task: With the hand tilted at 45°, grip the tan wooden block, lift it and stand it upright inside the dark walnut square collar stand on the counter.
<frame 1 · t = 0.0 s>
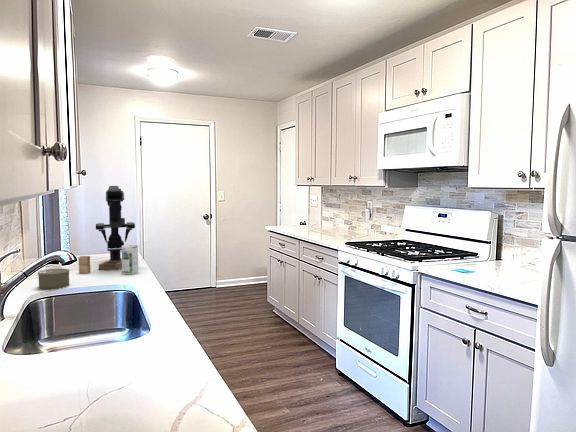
hand: (116, 242, 213), 15 cm above the table, tool pointing down, fingers open, 9 cm apart
tan wooden block: (84, 273, 206), on the table
syrup box: (130, 273, 206), on the table
walnut collar stand: (112, 268, 219), on the table
can: (54, 287, 179), on the table
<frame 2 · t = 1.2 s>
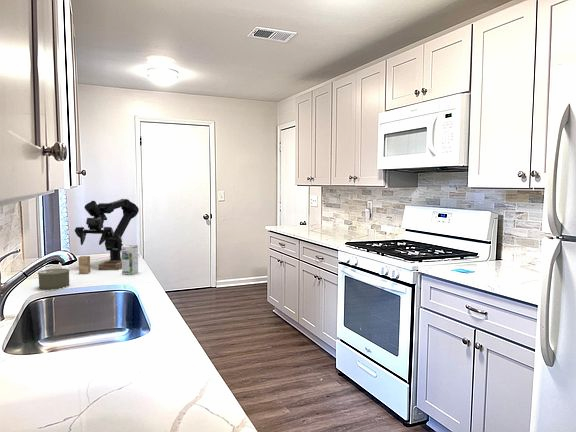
hand: (90, 244, 213), 13 cm above the table, tool tilted 45°, fingers open, 9 cm apart
nothing on the table moved.
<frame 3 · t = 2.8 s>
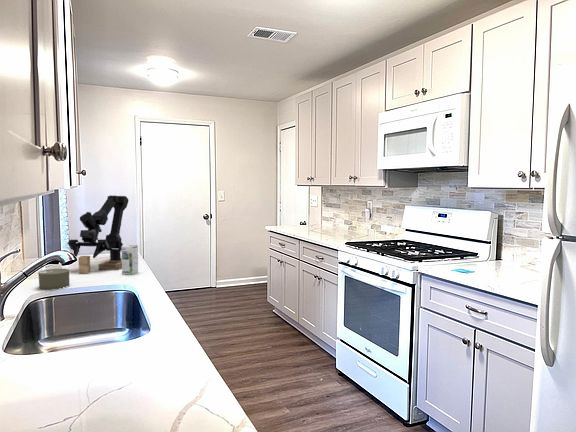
hand: (84, 257, 206), 8 cm above the table, tool tilted 45°, fingers open, 9 cm apart
nothing on the table moved.
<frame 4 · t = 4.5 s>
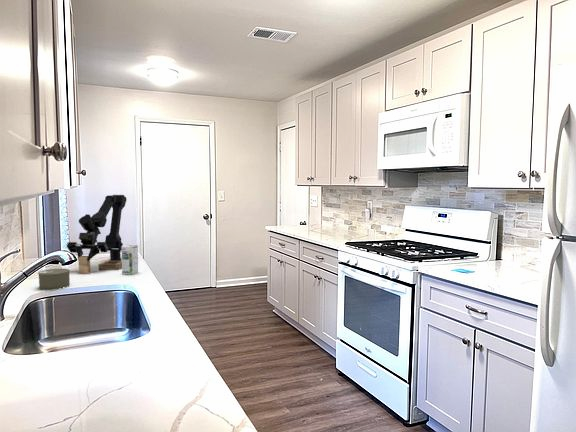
hand: (83, 260, 204), 7 cm above the table, tool tilted 45°, fingers closed on tan wooden block, 4 cm apart
tan wooden block: (84, 273, 206), on the table, touching gripper
everything else where it was.
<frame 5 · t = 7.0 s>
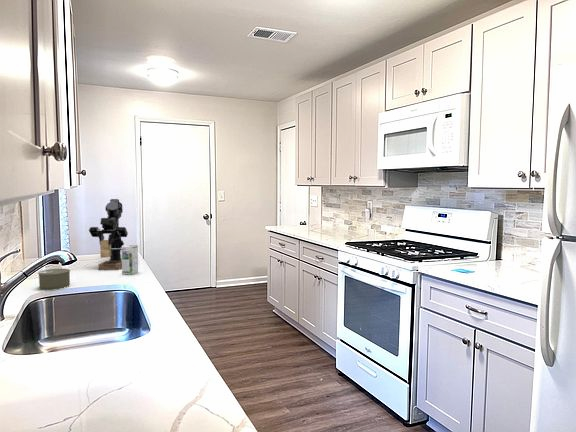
hand: (104, 244, 214), 13 cm above the table, tool tilted 45°, fingers closed on tan wooden block, 4 cm apart
tan wooden block: (105, 256, 216), point 7 cm above the table, touching gripper
everything else where it was.
when the fingers open (8 cm above the table, at t = 9.5 s): tan wooden block stays where it is, resting in walnut collar stand.
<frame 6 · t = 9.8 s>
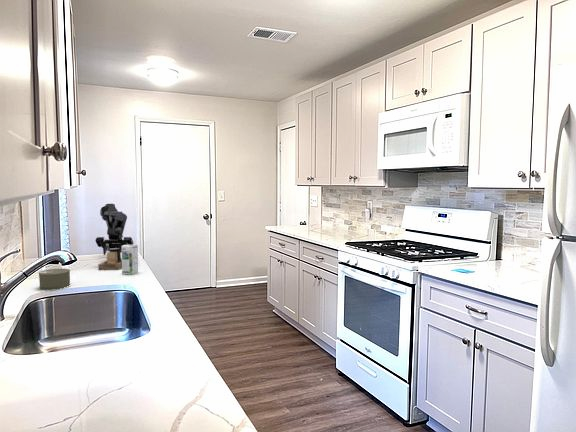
hand: (111, 254, 217), 8 cm above the table, tool tilted 45°, fingers open, 7 cm apart
tan wooden block: (112, 268, 219), resting in walnut collar stand
everything else where it was.
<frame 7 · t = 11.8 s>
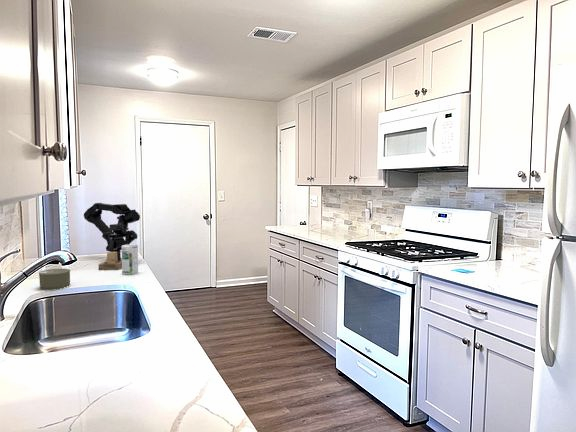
hand: (116, 249, 225), 9 cm above the table, tool tilted 35°, fingers open, 9 cm apart
nothing on the table moved.
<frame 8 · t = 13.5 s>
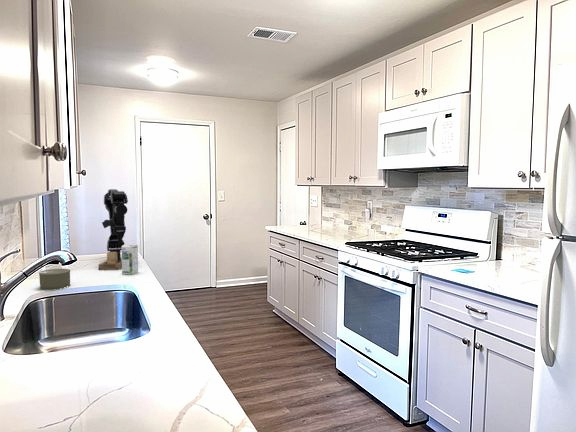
hand: (119, 242, 225), 13 cm above the table, tool pointing down, fingers open, 9 cm apart
nothing on the table moved.
at the end: tan wooden block 0.0 cm off-centre on the walnut collar stand, point 0.0 cm above the walnut collar stand's base; tan wooden block tilted 0°; the gripper is holding nothing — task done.
